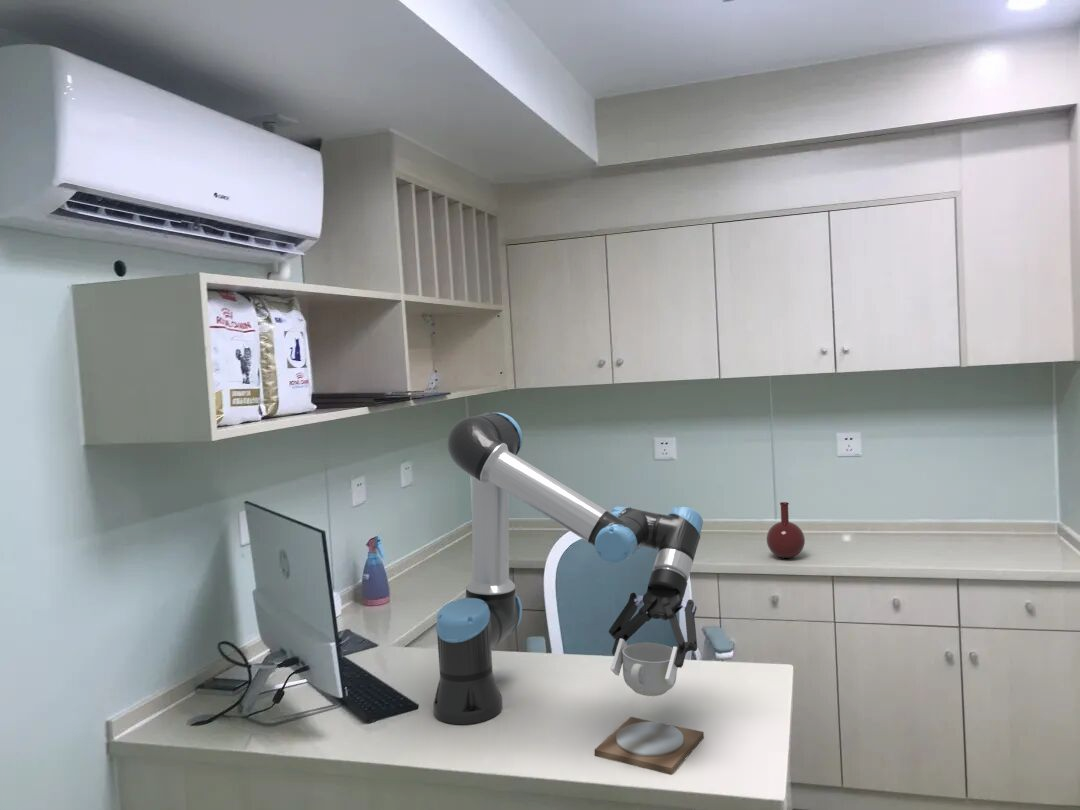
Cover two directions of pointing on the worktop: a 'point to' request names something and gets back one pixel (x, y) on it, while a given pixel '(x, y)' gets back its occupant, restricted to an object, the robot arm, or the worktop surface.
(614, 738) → the walnut board
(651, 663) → the teacup
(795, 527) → the round-bottom flask
